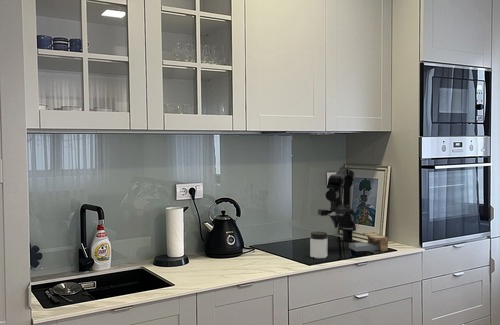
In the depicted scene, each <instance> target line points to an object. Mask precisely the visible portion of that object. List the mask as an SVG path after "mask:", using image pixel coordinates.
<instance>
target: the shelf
mask: <svg viewBox="0 0 500 325" xmlns="http://www.w3.org/2000/svg"><path fill="white" fill-rule="evenodd" d="M362 235H363V236H366V238H367V242H374V243H376V244H379V245H380V250H379V252H388V251H389V237H387V236H384V235H382V234H380V233H377V232H376V231H375V232H369V231H368V232H362Z"/></svg>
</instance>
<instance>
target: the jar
mask: <svg viewBox="0 0 500 325" xmlns="http://www.w3.org/2000/svg"><path fill="white" fill-rule="evenodd" d="M309 240H310V241H309V244H310V246H309V247H310V248H309V251H310V253H309V257H311V258H313V257H314V259H326V258H327V257H328V233H327V232H325V231H312V232H310V239H309Z"/></svg>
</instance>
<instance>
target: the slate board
mask: <svg viewBox="0 0 500 325" xmlns="http://www.w3.org/2000/svg"><path fill="white" fill-rule="evenodd" d="M348 248H349V249H350V250H352V251H355V252H368V251H369V252H370V251H380V245H379V244H376V243H374V242H368V241H366V242H365V241H364V242H349V243H348Z"/></svg>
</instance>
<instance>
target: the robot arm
mask: <svg viewBox="0 0 500 325" xmlns="http://www.w3.org/2000/svg"><path fill="white" fill-rule="evenodd" d="M355 181H356V175H355V172H354V171H352V170H351V169H350V167H347V166H346V167H345V166H341V167H339V170H337V172H336V173H334V174H330V175H329V177H328V179H327V183H326V189H328V190H327V191H326V193H325V199H326V200H327V201H329V203H330V207H329V209H326V208H320V209H318V210H317V215H319V216H323V217H324V216H329V217H330V219H331V221H332V223H333V226H334V228H336V229H338V228H339V230H340V231H342V238H340V241H343V242H345V243H346V242H355V239H353V236H354V235H353V232H356V231H357V226H356V225H357V224H356V222H355V220H354V216H353V215H355V210H354V208H352V188H353V186H354V184H355ZM342 189H343V191H342ZM342 193H343V194H342Z"/></svg>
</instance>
